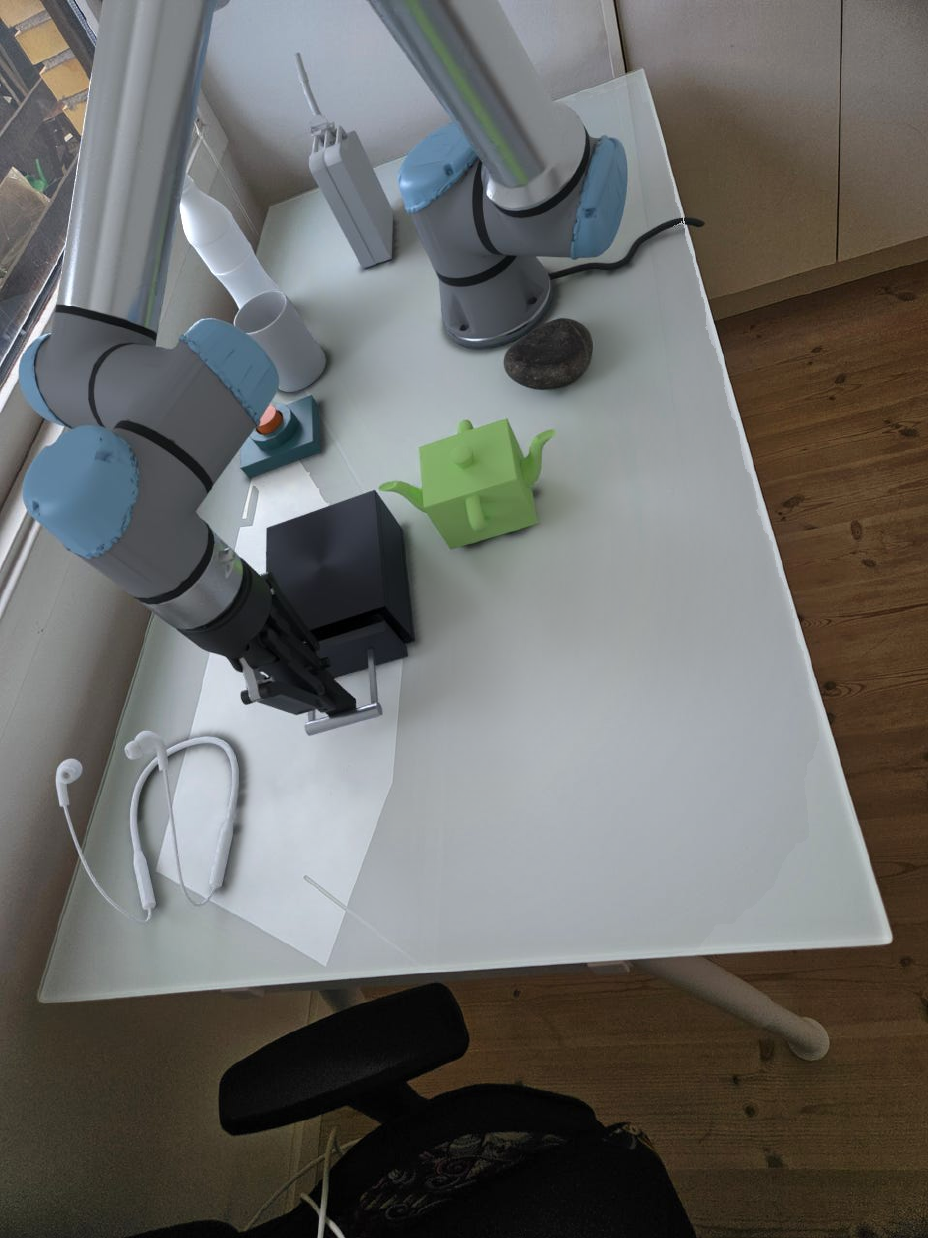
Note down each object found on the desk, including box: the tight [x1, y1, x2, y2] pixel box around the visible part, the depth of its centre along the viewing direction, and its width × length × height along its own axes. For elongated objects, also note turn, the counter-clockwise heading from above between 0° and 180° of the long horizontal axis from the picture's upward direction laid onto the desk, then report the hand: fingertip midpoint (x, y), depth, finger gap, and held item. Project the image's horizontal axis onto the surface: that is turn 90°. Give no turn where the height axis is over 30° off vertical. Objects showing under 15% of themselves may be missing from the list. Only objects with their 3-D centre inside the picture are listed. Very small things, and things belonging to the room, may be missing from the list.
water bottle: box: [179, 172, 283, 311], centre depth 118 cm, size 7×7×25 cm
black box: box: [265, 489, 416, 645], centre depth 91 cm, size 16×14×8 cm
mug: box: [233, 290, 327, 393], centre depth 115 cm, size 12×8×11 cm
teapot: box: [378, 418, 557, 550], centre depth 89 cm, size 15×13×11 cm
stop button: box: [256, 404, 282, 434], centre depth 109 cm, size 4×4×2 cm
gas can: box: [292, 52, 394, 269], centre depth 119 cm, size 15×5×25 cm, turn 1°
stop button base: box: [239, 394, 322, 479], centre depth 111 cm, size 11×9×4 cm
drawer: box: [302, 613, 409, 737], centre depth 87 cm, size 22×13×6 cm, turn 7°
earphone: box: [55, 730, 240, 925], centre depth 84 cm, size 14×17×18 cm
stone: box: [503, 317, 594, 391], centre depth 99 cm, size 11×11×5 cm
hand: (344, 709), depth 82 cm, fingers closed
